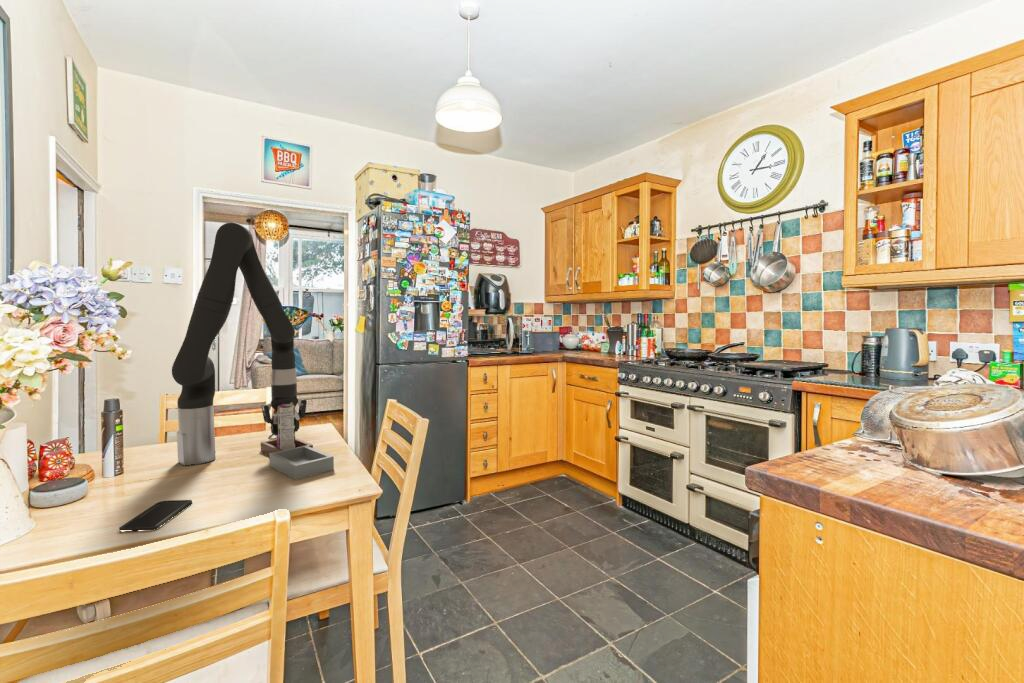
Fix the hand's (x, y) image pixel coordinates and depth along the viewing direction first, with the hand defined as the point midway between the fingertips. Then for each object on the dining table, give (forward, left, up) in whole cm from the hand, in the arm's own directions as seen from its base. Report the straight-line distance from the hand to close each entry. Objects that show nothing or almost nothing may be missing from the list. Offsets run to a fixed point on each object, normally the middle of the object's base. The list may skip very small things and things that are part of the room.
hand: (285, 432), depth 158 cm
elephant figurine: (+8, +20, -7) cm, 23 cm away
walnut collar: (0, 0, -7) cm, 7 cm away
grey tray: (-4, -19, -7) cm, 20 cm away
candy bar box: (0, 0, -7) cm, 7 cm away
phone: (-41, -27, -7) cm, 50 cm away
